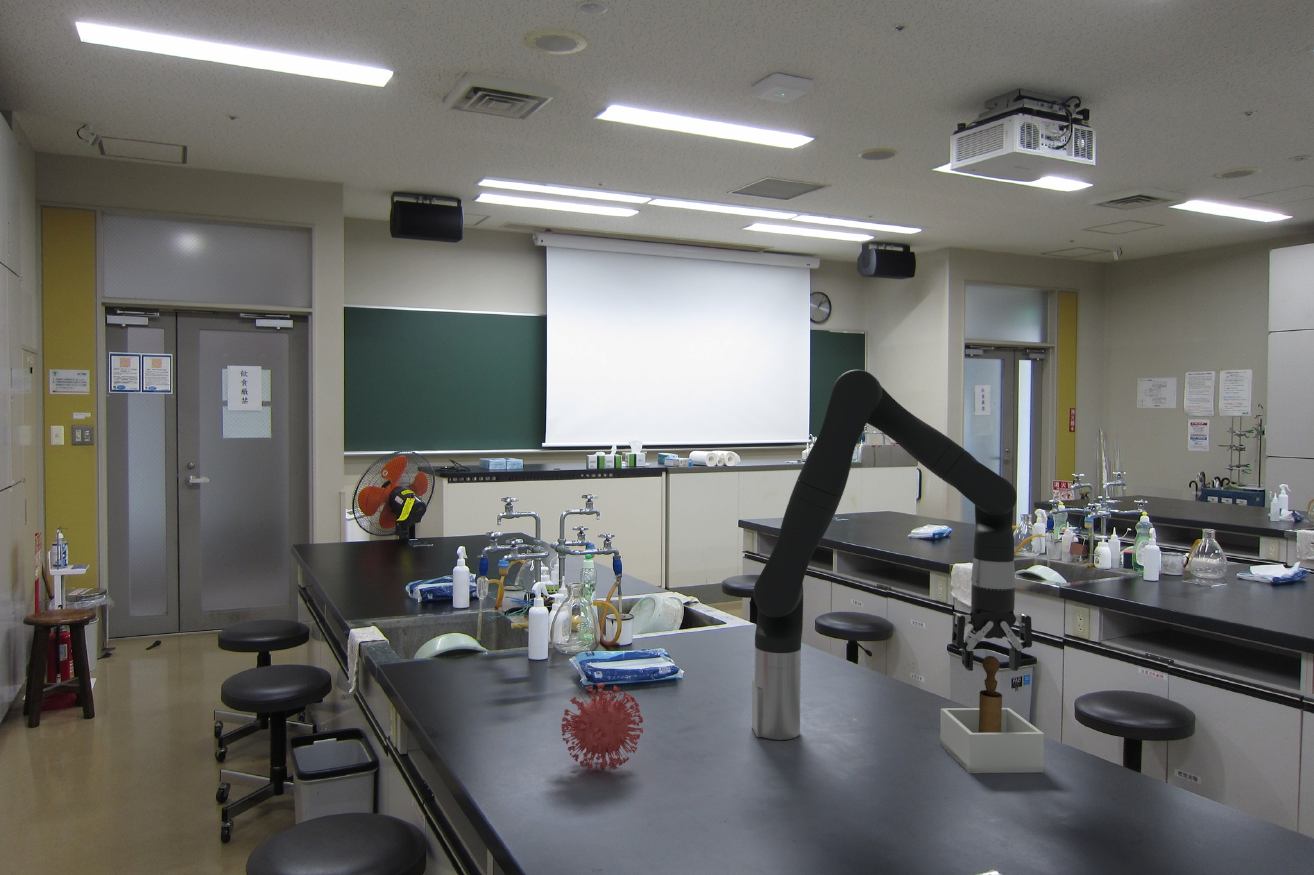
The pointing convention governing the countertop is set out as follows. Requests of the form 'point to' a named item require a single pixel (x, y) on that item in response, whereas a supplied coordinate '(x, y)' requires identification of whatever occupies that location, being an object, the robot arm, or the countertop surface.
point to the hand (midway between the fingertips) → (991, 669)
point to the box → (992, 742)
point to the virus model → (603, 727)
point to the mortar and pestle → (990, 699)
